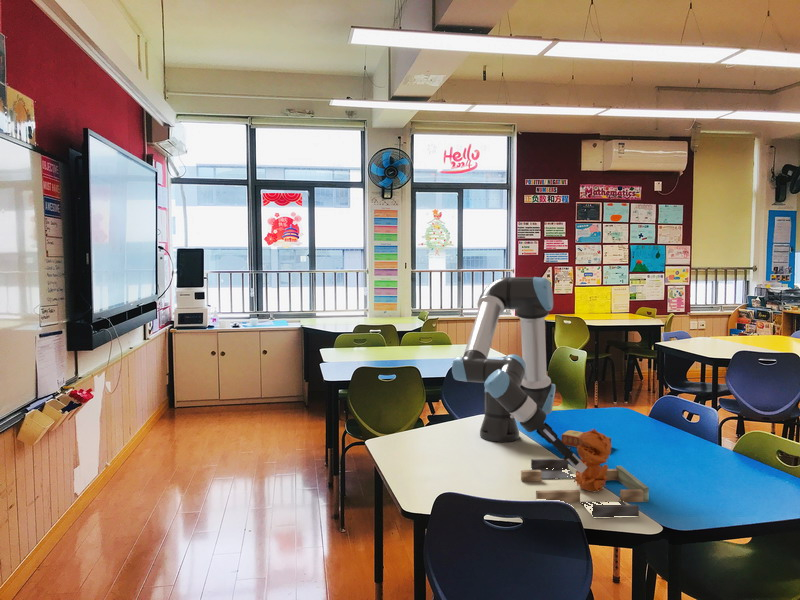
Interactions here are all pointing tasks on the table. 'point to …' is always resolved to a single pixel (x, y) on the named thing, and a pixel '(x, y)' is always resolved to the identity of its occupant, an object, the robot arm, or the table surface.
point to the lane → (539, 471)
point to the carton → (573, 438)
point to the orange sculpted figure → (593, 460)
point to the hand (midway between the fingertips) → (583, 469)
